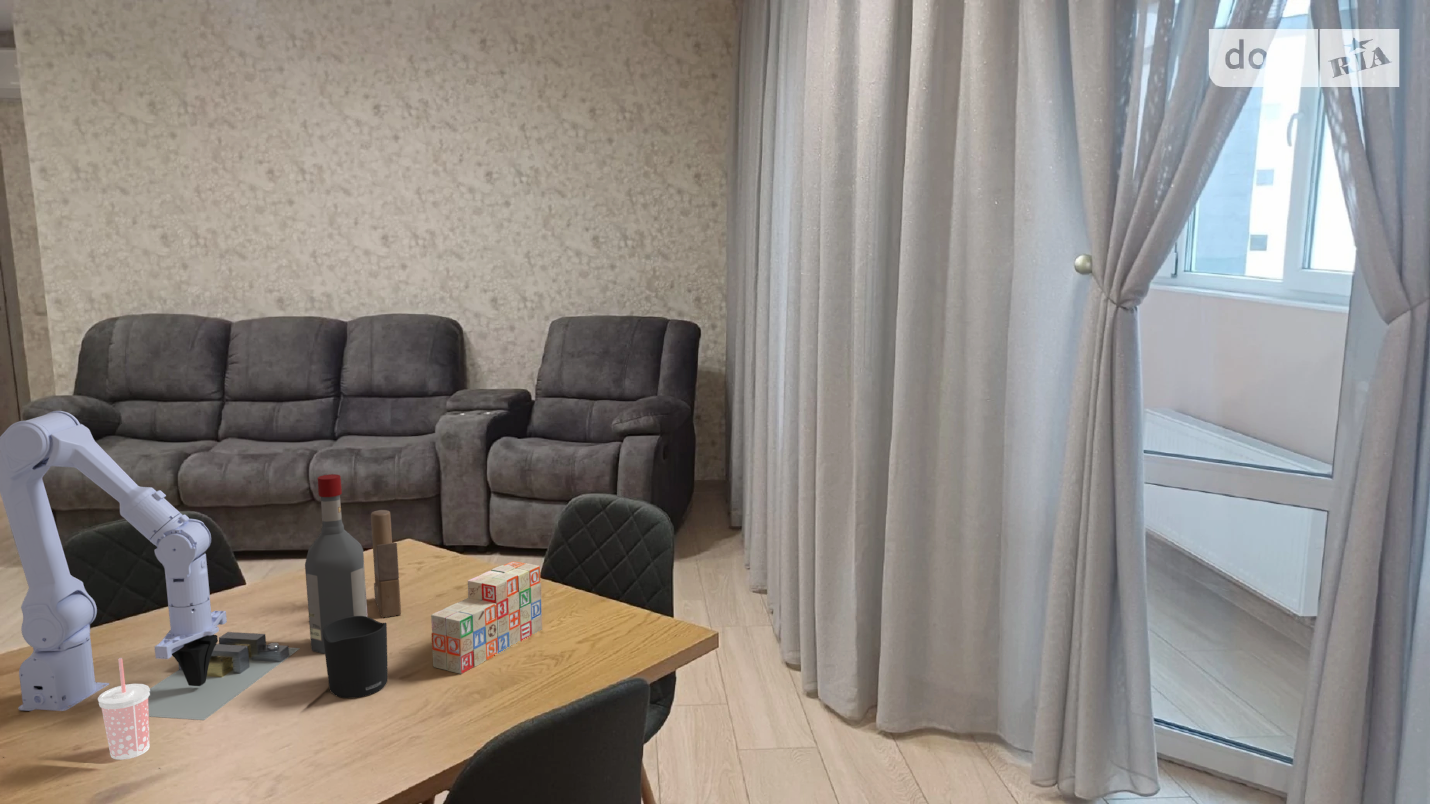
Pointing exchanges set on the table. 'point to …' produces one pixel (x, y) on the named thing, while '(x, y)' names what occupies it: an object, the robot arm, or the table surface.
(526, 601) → the stack of blocks
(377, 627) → the pen holder
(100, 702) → the beverage cup
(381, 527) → the wooden block
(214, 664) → the link bar
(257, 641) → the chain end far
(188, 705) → the mat
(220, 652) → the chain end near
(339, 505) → the liquor
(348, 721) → the table surface
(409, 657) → the table surface
